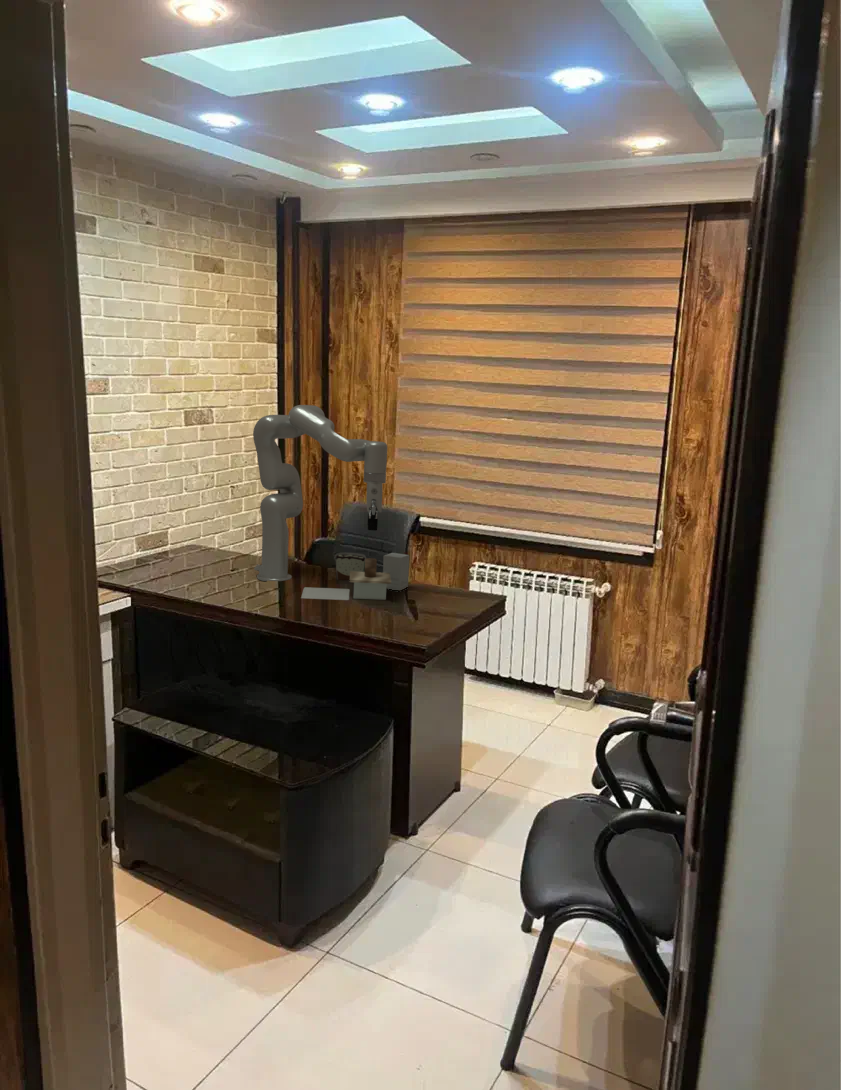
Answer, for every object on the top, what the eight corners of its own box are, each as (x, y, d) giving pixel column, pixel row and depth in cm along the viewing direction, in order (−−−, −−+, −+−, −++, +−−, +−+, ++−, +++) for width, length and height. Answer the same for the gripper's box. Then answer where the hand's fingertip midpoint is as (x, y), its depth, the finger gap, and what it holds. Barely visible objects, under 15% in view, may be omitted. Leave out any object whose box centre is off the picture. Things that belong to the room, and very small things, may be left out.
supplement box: (408, 588, 300) (410, 554, 298) (399, 592, 293) (401, 557, 291) (390, 585, 303) (392, 552, 301) (381, 589, 296) (383, 555, 294)
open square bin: (353, 600, 278) (354, 581, 277) (353, 592, 289) (354, 574, 288) (385, 601, 279) (386, 582, 278) (384, 593, 290) (385, 575, 288)
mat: (300, 599, 274) (301, 598, 274) (304, 588, 290) (304, 587, 290) (348, 601, 275) (348, 599, 275) (349, 590, 291) (349, 589, 291)
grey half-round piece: (368, 579, 311) (369, 553, 309) (365, 583, 305) (366, 556, 303) (336, 577, 312) (337, 551, 310) (333, 580, 306) (334, 554, 304)
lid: (349, 582, 275) (350, 562, 274) (350, 573, 289) (350, 554, 288) (391, 583, 276) (392, 564, 275) (389, 575, 290) (390, 556, 289)
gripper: (386, 481, 269) (383, 532, 272) (385, 476, 285) (382, 524, 288) (363, 480, 268) (361, 531, 271) (363, 475, 285) (361, 523, 288)
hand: (372, 527), depth 280 cm, fingers open, 9 cm apart
